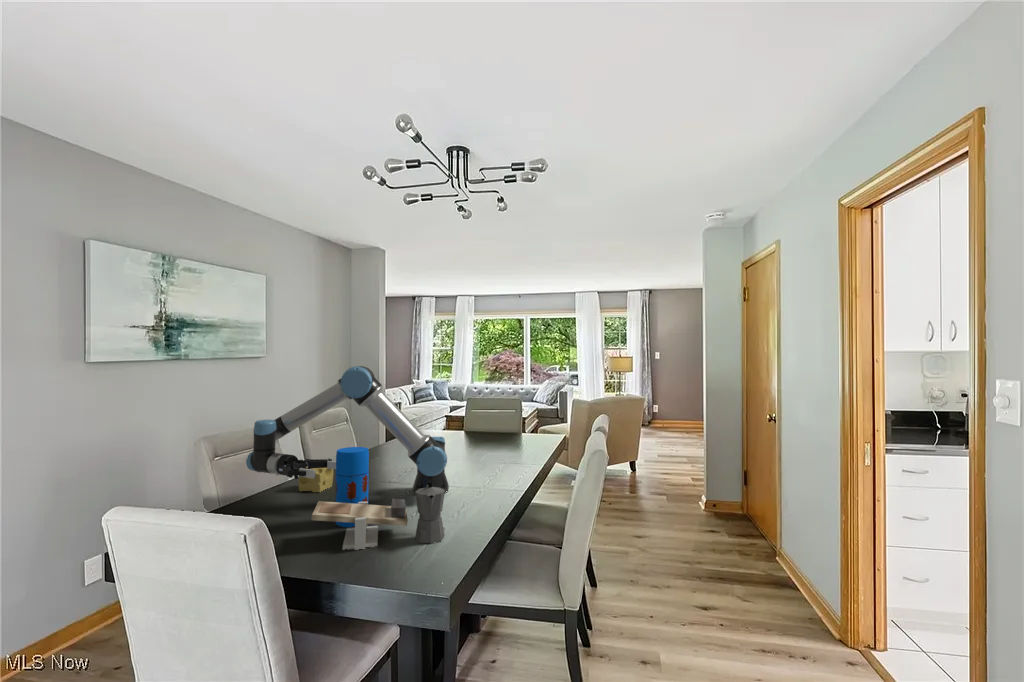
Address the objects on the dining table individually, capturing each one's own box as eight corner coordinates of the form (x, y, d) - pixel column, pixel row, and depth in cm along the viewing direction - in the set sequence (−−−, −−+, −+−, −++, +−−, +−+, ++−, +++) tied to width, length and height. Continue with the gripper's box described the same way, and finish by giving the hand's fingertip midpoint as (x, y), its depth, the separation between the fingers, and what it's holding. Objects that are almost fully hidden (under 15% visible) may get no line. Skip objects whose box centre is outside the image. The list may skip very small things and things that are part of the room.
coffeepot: (446, 545, 151) (447, 485, 152) (415, 547, 149) (415, 487, 150) (442, 528, 166) (442, 474, 167) (413, 530, 164) (414, 475, 165)
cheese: (319, 493, 208) (320, 469, 208) (296, 491, 210) (297, 468, 210) (333, 486, 218) (333, 463, 218) (311, 485, 220) (311, 462, 220)
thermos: (374, 519, 175) (375, 448, 176) (355, 529, 165) (356, 453, 166) (348, 515, 179) (349, 446, 180) (328, 525, 169) (329, 451, 169)
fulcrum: (378, 527, 166) (378, 500, 167) (377, 548, 149) (377, 517, 149) (347, 530, 164) (347, 502, 164) (342, 551, 146) (342, 520, 147)
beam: (405, 511, 167) (407, 498, 167) (406, 525, 153) (409, 510, 153) (317, 506, 160) (319, 491, 160) (311, 520, 146) (313, 504, 147)
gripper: (308, 467, 195) (352, 473, 187) (254, 482, 172) (301, 489, 164) (309, 448, 195) (352, 453, 188) (255, 460, 172) (302, 466, 164)
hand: (328, 470), depth 176 cm, fingers open, 13 cm apart
